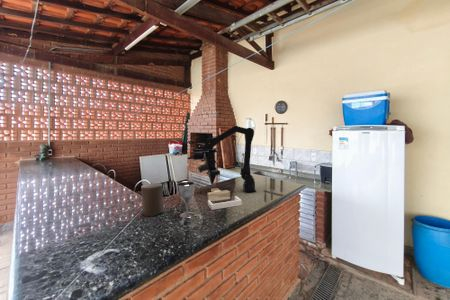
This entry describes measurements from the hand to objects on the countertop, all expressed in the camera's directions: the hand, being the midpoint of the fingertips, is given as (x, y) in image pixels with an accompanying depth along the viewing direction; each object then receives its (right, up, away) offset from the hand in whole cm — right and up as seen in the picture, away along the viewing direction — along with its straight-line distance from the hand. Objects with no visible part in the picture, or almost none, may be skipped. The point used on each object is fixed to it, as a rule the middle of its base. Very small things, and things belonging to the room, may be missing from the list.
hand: (211, 183), depth 131 cm
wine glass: (-9, -9, -35) cm, 37 cm away
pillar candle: (-26, -9, -30) cm, 41 cm away
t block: (+4, -6, -10) cm, 13 cm away
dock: (+8, -7, -23) cm, 25 cm away
